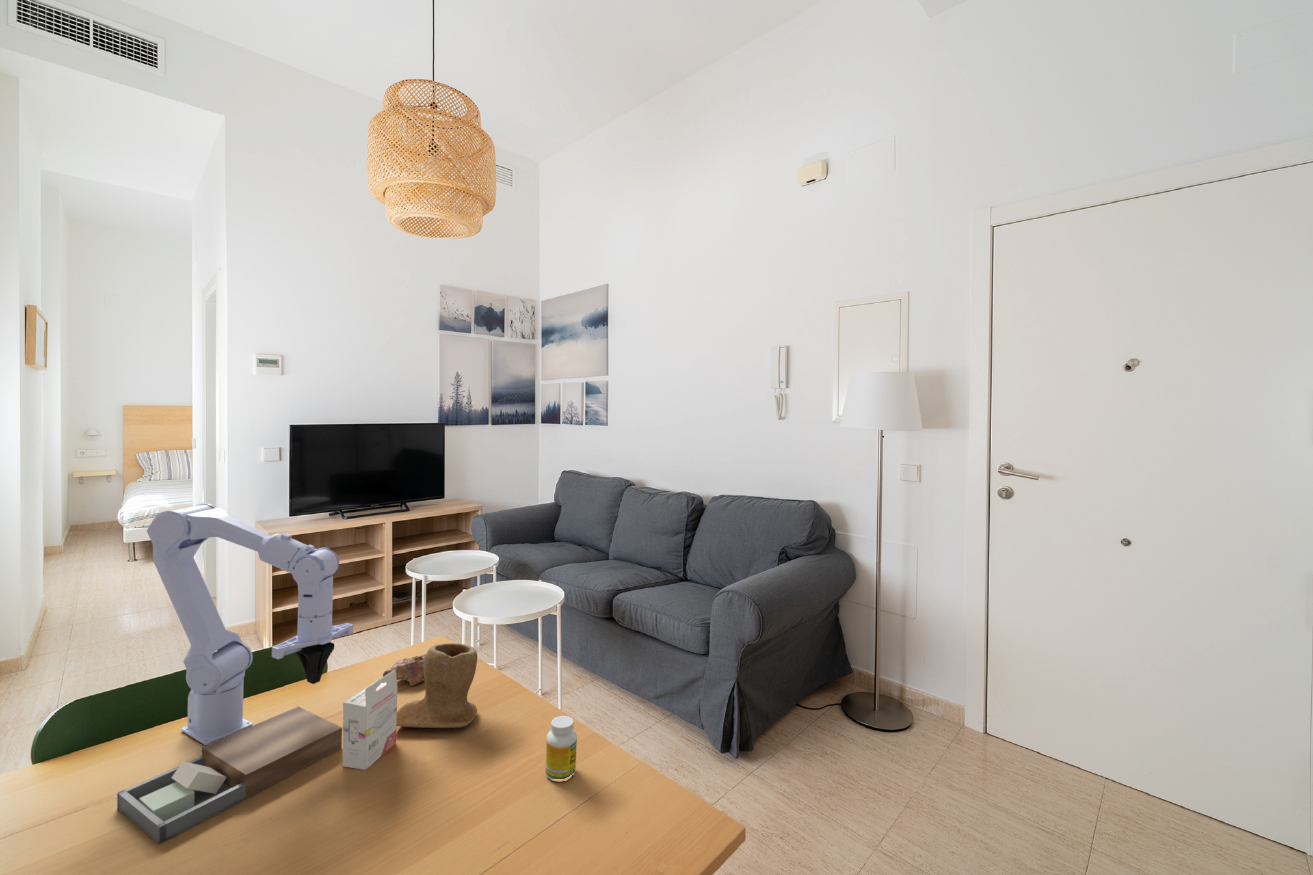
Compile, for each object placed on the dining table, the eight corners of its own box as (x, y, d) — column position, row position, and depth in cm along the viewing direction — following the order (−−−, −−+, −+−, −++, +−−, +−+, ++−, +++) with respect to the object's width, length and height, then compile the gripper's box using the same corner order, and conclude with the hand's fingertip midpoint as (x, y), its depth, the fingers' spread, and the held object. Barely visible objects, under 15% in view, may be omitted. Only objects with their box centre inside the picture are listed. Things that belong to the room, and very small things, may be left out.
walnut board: (201, 769, 95) (202, 747, 95) (297, 726, 110) (298, 706, 109) (245, 798, 89) (245, 774, 89) (341, 748, 103) (342, 727, 103)
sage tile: (180, 780, 89) (179, 794, 89) (139, 798, 84) (139, 813, 84) (194, 791, 86) (194, 806, 86) (153, 810, 82) (153, 826, 82)
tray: (117, 808, 86) (117, 792, 86) (201, 769, 95) (202, 755, 95) (159, 844, 79) (159, 827, 79) (245, 798, 89) (245, 783, 89)
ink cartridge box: (374, 739, 106) (376, 664, 106) (396, 743, 105) (399, 668, 105) (340, 766, 98) (342, 685, 97) (364, 771, 97) (366, 689, 96)
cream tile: (171, 777, 88) (183, 761, 89) (199, 783, 92) (210, 767, 93) (187, 788, 86) (198, 771, 87) (215, 793, 89) (226, 777, 91)
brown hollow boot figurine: (484, 704, 121) (486, 637, 120) (467, 736, 109) (470, 661, 108) (413, 703, 120) (416, 635, 120) (389, 734, 108) (391, 659, 108)
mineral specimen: (411, 688, 123) (399, 660, 124) (388, 700, 125) (376, 672, 126) (448, 666, 134) (437, 640, 135) (426, 677, 137) (415, 651, 138)
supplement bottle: (547, 763, 101) (549, 712, 101) (577, 764, 102) (579, 713, 101) (542, 783, 96) (544, 729, 96) (573, 783, 96) (575, 730, 96)
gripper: (287, 629, 99) (286, 703, 100) (363, 606, 112) (361, 672, 112) (265, 620, 102) (264, 692, 103) (341, 599, 115) (340, 663, 116)
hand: (313, 681), depth 108 cm, fingers closed
